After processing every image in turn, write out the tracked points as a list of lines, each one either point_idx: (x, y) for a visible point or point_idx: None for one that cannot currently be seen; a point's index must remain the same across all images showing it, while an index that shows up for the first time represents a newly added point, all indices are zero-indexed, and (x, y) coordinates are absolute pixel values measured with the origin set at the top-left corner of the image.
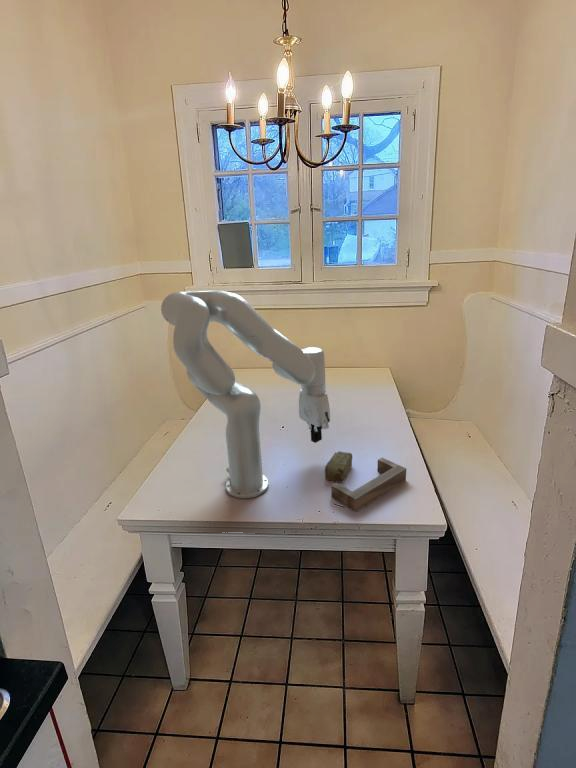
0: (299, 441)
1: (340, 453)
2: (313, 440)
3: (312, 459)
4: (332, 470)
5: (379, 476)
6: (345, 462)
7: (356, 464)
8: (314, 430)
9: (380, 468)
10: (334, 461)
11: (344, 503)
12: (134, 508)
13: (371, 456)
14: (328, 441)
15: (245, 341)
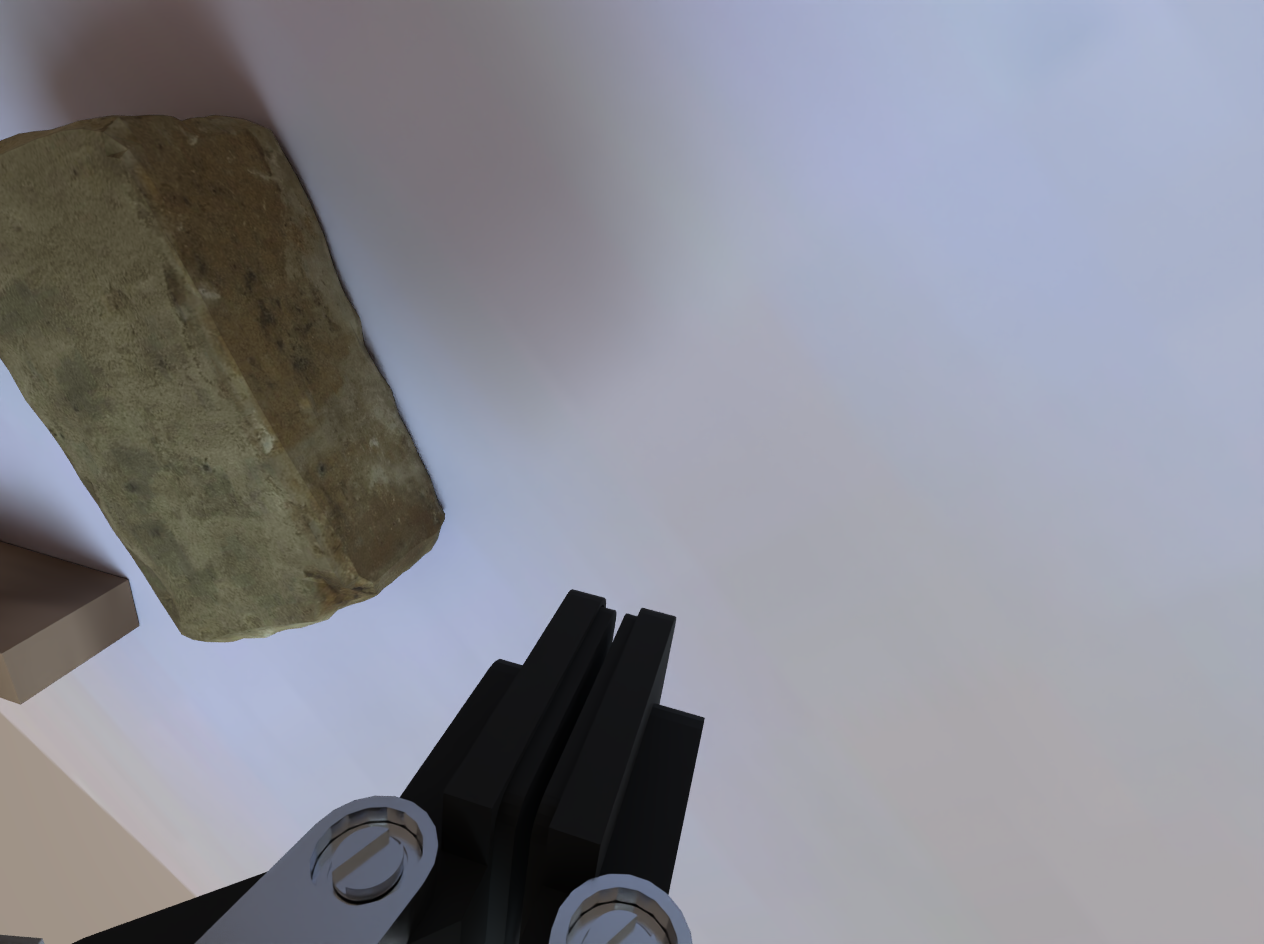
0: (1198, 766)
1: (261, 581)
2: (592, 618)
3: (729, 454)
4: (15, 137)
5: None
6: (29, 404)
7: None
8: (424, 854)
9: (57, 594)
10: (139, 350)
11: None
12: None
13: (323, 757)
14: (817, 864)
15: None
